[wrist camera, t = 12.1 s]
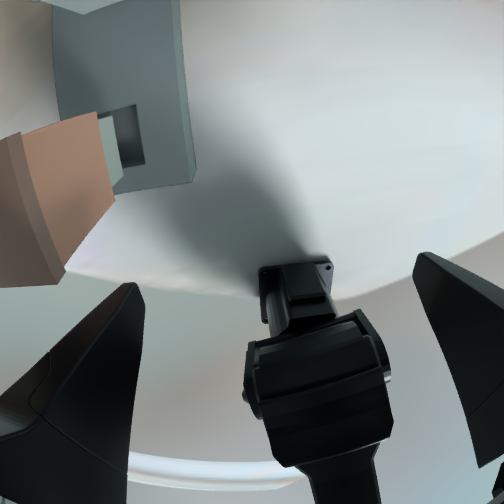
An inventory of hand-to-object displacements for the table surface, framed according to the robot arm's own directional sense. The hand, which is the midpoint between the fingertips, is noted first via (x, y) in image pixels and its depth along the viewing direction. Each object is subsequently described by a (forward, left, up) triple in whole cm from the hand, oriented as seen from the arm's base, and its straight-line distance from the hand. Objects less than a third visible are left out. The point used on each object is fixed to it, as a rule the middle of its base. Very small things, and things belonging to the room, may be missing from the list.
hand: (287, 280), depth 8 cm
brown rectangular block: (+3, +8, -8) cm, 12 cm away
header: (+9, +8, -13) cm, 18 cm away
